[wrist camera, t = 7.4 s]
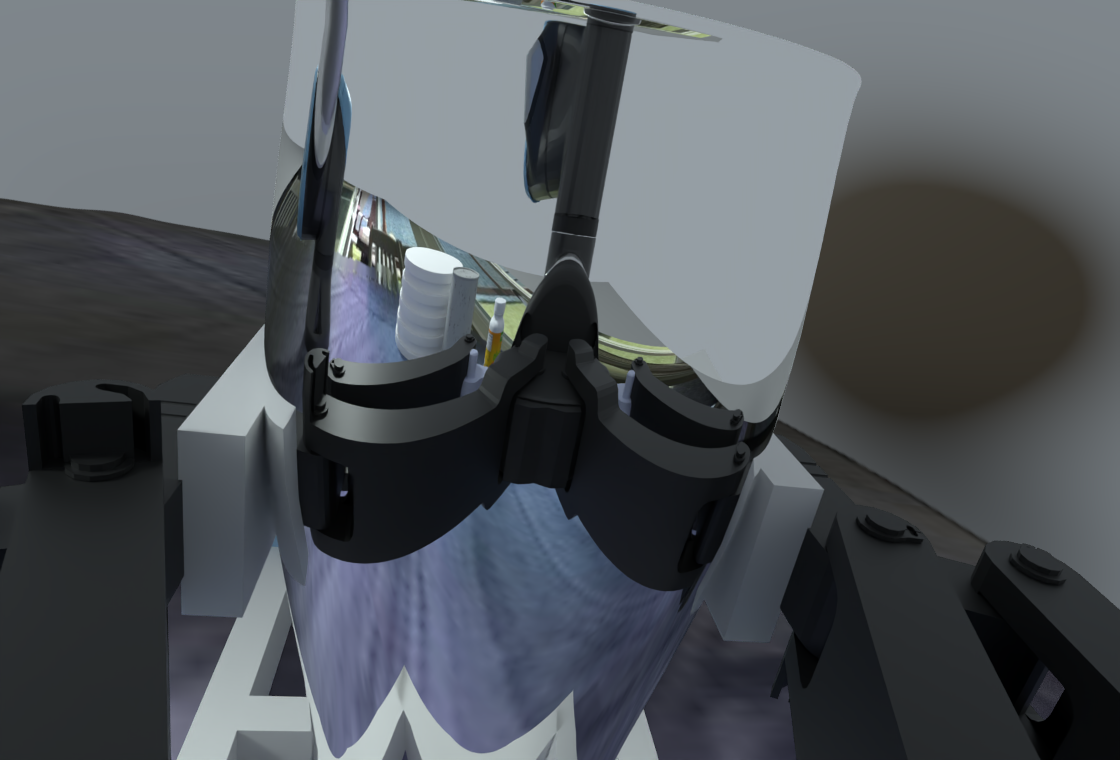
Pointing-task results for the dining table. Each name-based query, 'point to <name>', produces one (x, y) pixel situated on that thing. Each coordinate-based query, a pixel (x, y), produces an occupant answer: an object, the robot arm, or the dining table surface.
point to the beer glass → (526, 352)
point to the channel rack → (279, 721)
